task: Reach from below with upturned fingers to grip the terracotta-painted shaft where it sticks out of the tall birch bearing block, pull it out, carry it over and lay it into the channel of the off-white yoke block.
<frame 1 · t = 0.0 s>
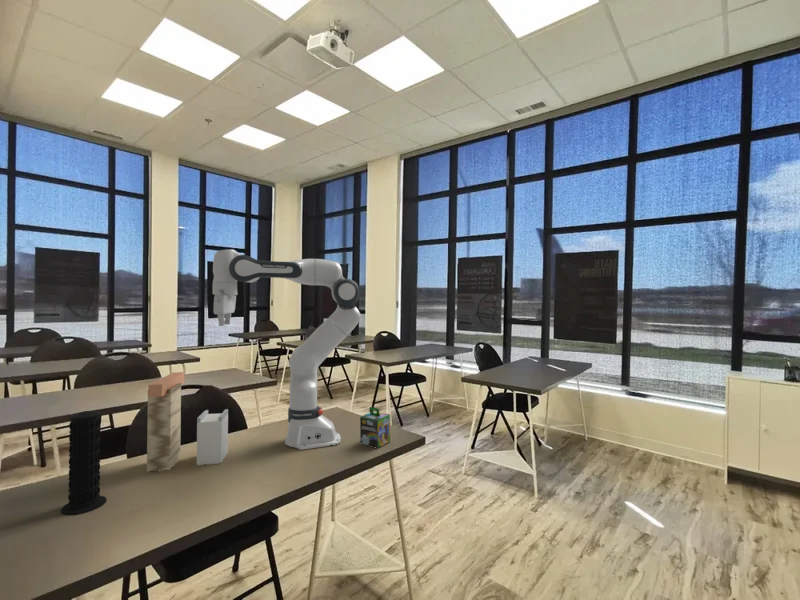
hand: (224, 325, 154), 48 cm above the table, tool pointing down, fingers open, 8 cm apart
handle grip: (84, 506, 109), on the table
yoke block: (212, 458, 142), on the table
chalk box: (375, 443, 159), on the table
bearing block: (164, 465, 136), on the table
shaft: (167, 389, 138), point 26 cm above the table, touching bearing block
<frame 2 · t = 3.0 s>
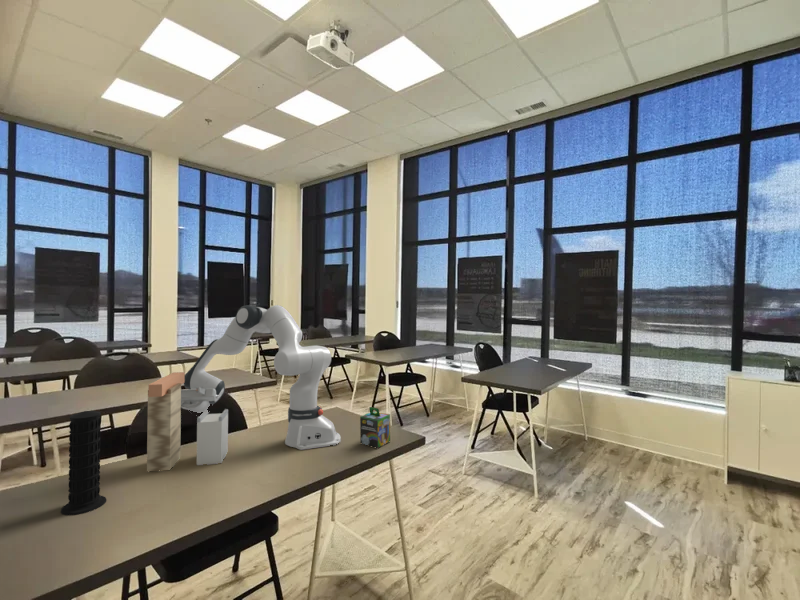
hand: (185, 389, 156), 22 cm above the table, tool pointing upward, fingers open, 8 cm apart
nothing on the table moved.
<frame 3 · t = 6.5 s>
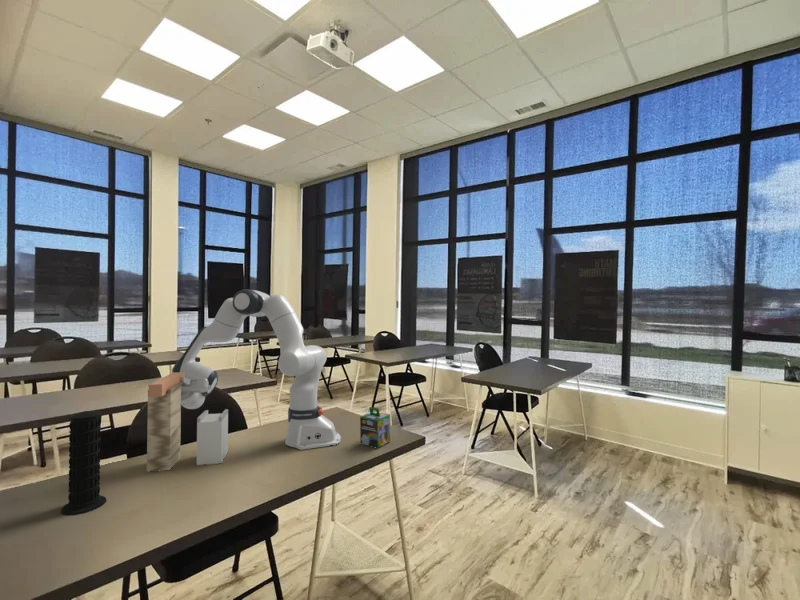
hand: (173, 379, 144), 28 cm above the table, tool pointing upward, fingers closed on shaft, 4 cm apart
shaft: (167, 389, 138), point 26 cm above the table, touching bearing block, gripper
everything else where it was.
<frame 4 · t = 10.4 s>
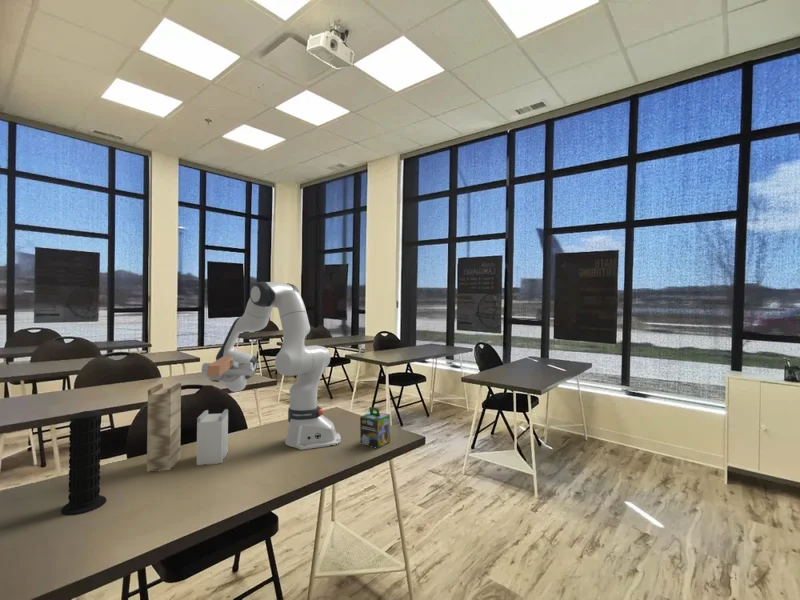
hand: (224, 362, 160), 32 cm above the table, tool pointing upward, fingers closed on shaft, 4 cm apart
shaft: (221, 370, 154), point 30 cm above the table, touching gripper
everything else where it was.
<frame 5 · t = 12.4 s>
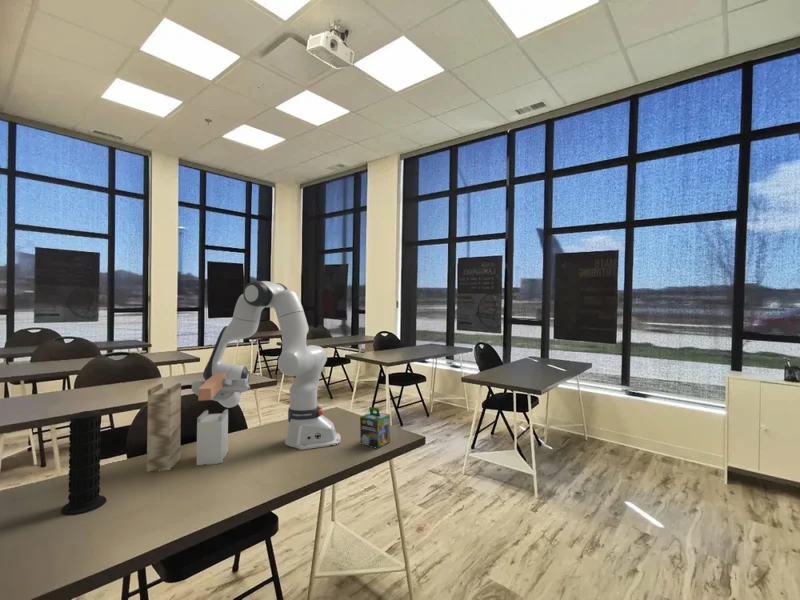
hand: (216, 380, 147), 27 cm above the table, tool pointing upward, fingers closed on shaft, 4 cm apart
shaft: (213, 391, 142), point 25 cm above the table, touching gripper
everything else where it was.
when the fingers open (19 cm above the table, at t = 14.2 s): shaft drops 2 cm, resting on yoke block.
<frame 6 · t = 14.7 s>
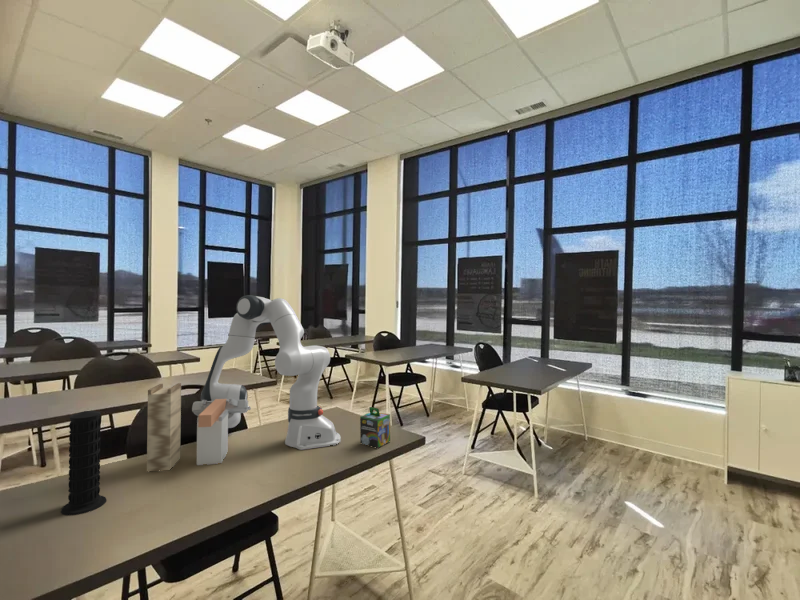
hand: (217, 401, 147), 19 cm above the table, tool pointing upward, fingers open, 8 cm apart
shaft: (213, 417, 142), point 15 cm above the table, touching yoke block
everything else where it was.
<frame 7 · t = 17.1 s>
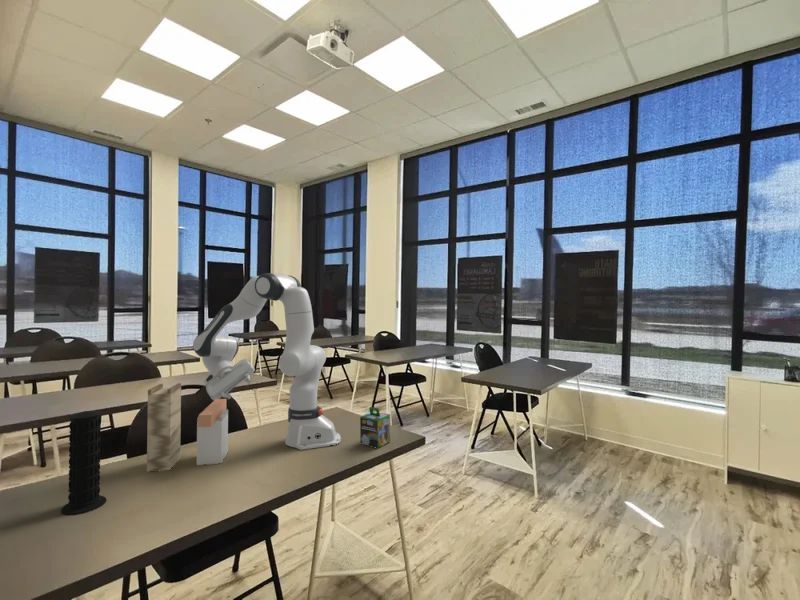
hand: (239, 389, 162), 21 cm above the table, tool tilted 65°, fingers open, 8 cm apart
nothing on the table moved.
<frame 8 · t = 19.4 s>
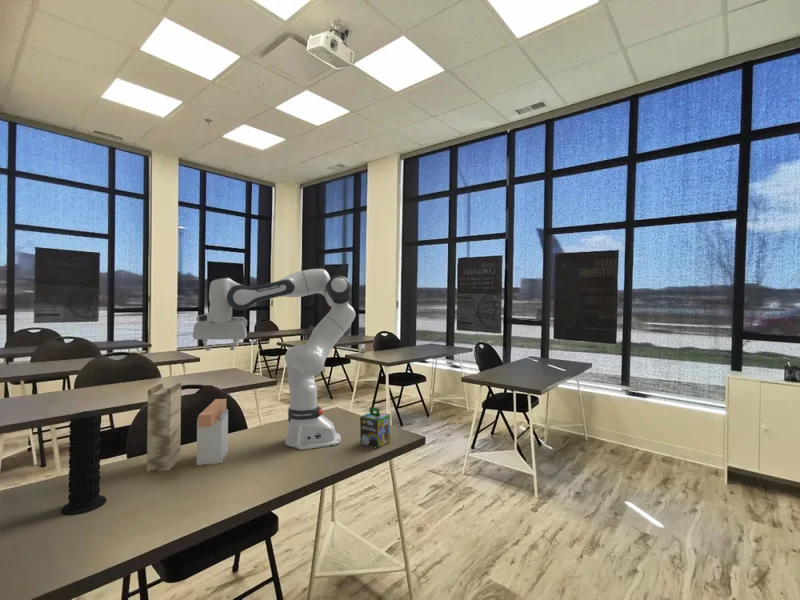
hand: (220, 350, 161), 37 cm above the table, tool pointing down, fingers open, 8 cm apart
nothing on the table moved.
at the end: shaft inside the target area on the yoke block (0.2 cm from its centre), point 15.0 cm above the yoke block's base; shaft touching yoke block; the gripper is holding nothing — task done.
